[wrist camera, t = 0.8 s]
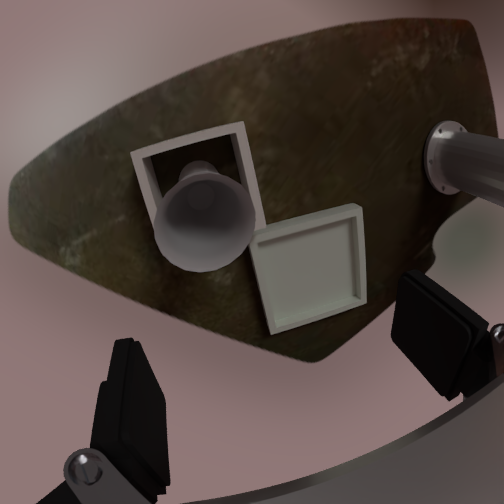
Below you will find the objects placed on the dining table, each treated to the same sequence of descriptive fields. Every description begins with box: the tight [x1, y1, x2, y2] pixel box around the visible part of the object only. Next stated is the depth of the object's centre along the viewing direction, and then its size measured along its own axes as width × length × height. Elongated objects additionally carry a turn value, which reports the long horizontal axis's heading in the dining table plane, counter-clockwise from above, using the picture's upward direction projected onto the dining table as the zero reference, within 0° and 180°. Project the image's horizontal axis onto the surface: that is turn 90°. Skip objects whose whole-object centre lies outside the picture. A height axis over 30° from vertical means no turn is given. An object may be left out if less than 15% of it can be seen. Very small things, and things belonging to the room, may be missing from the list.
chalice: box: [154, 160, 256, 272], centre depth 29 cm, size 7×7×18 cm
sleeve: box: [130, 121, 267, 256], centre depth 34 cm, size 12×12×6 cm
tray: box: [248, 203, 367, 335], centre depth 44 cm, size 16×16×2 cm
